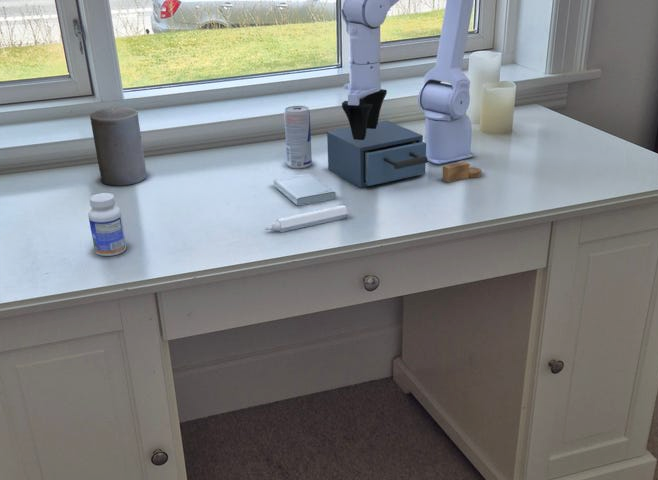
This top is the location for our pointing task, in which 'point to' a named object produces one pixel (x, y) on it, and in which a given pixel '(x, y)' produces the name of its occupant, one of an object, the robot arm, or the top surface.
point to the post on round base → (459, 172)
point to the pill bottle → (106, 225)
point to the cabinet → (362, 148)
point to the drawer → (394, 162)
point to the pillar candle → (118, 146)
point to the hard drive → (304, 189)
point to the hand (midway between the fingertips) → (365, 133)
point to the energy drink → (298, 136)
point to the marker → (309, 219)
